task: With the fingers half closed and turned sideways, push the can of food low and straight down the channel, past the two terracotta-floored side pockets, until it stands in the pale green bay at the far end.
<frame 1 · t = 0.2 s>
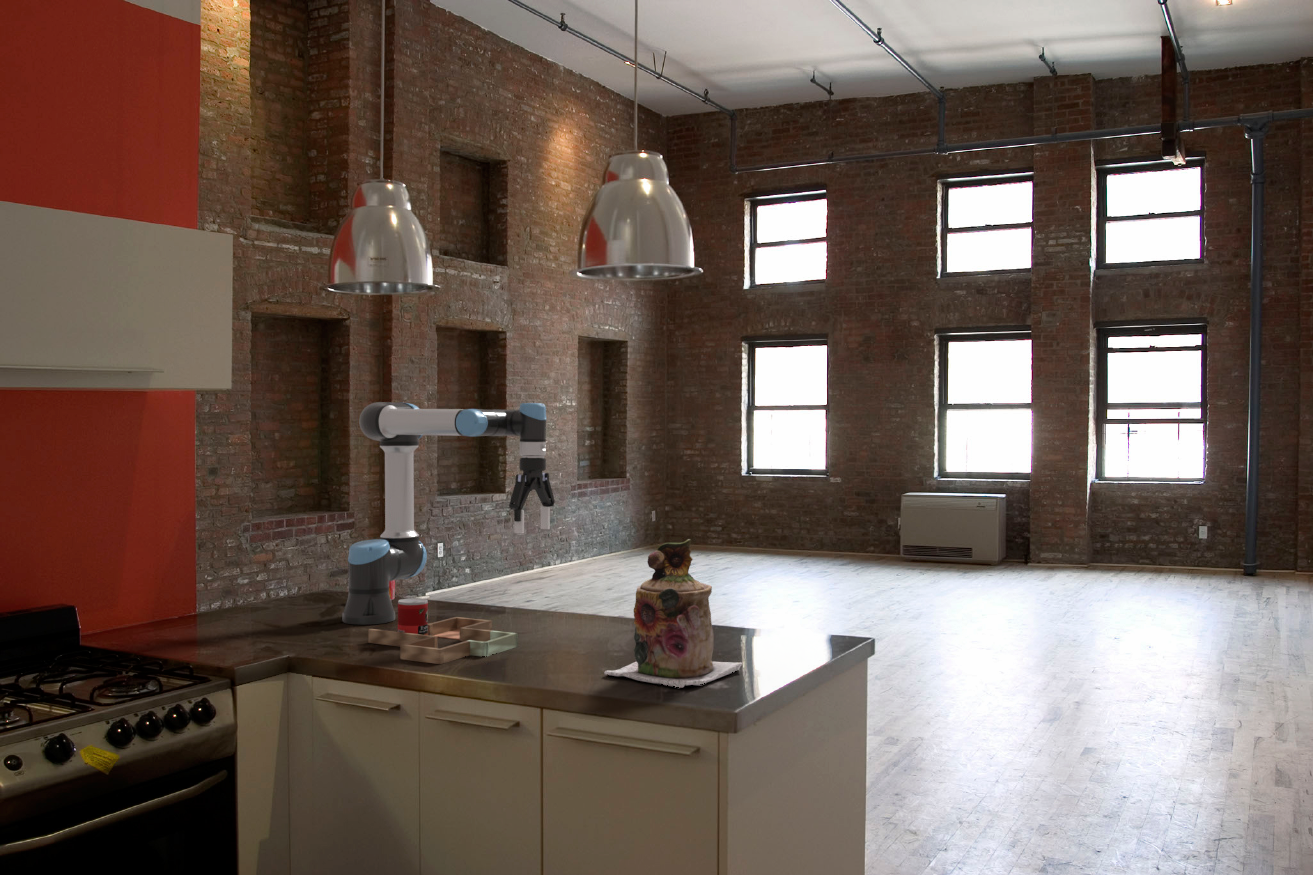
hand: (532, 531, 316), 28 cm above the worktop, tool pointing down, fingers open, 13 cm apart
cookie jar: (673, 675, 259), on the worktop
soda can: (383, 601, 363), on the worktop
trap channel: (439, 644, 293), on the worktop
canned food: (412, 641, 297), on the worktop
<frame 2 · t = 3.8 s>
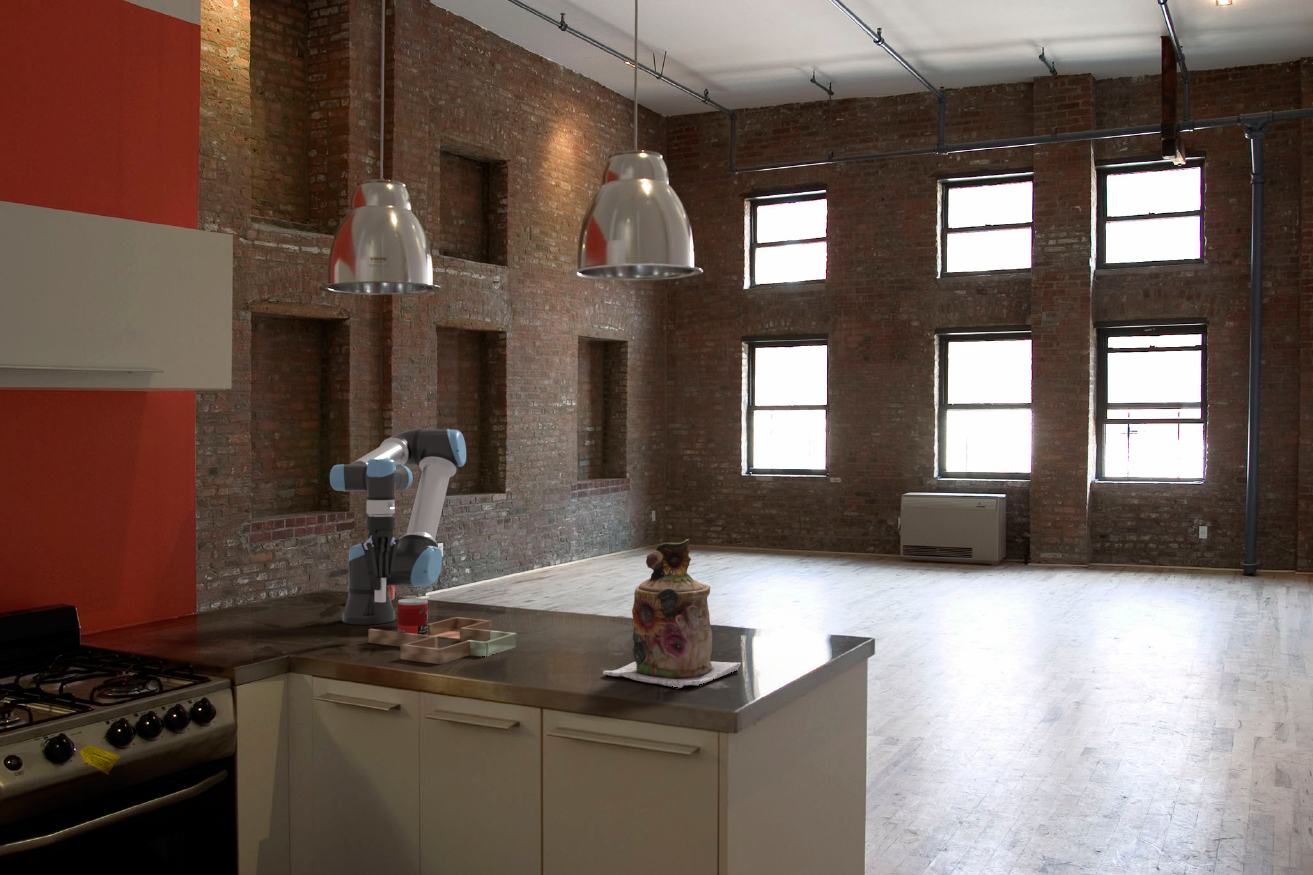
hand: (380, 601, 301), 10 cm above the worktop, tool pointing down, fingers closed
nothing on the worktop moved.
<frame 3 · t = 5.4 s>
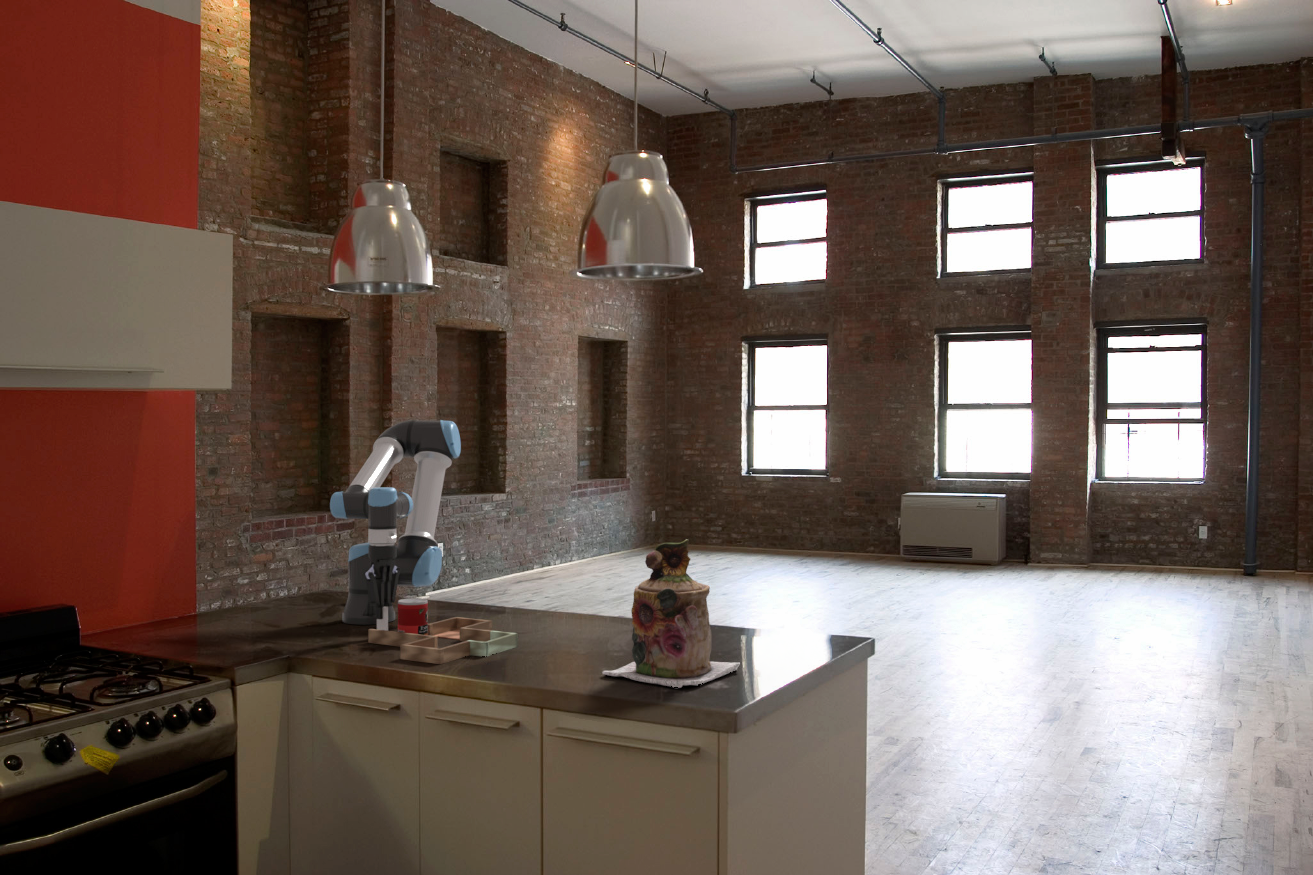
hand: (382, 630, 301), 2 cm above the worktop, tool pointing down, fingers closed
nothing on the worktop moved.
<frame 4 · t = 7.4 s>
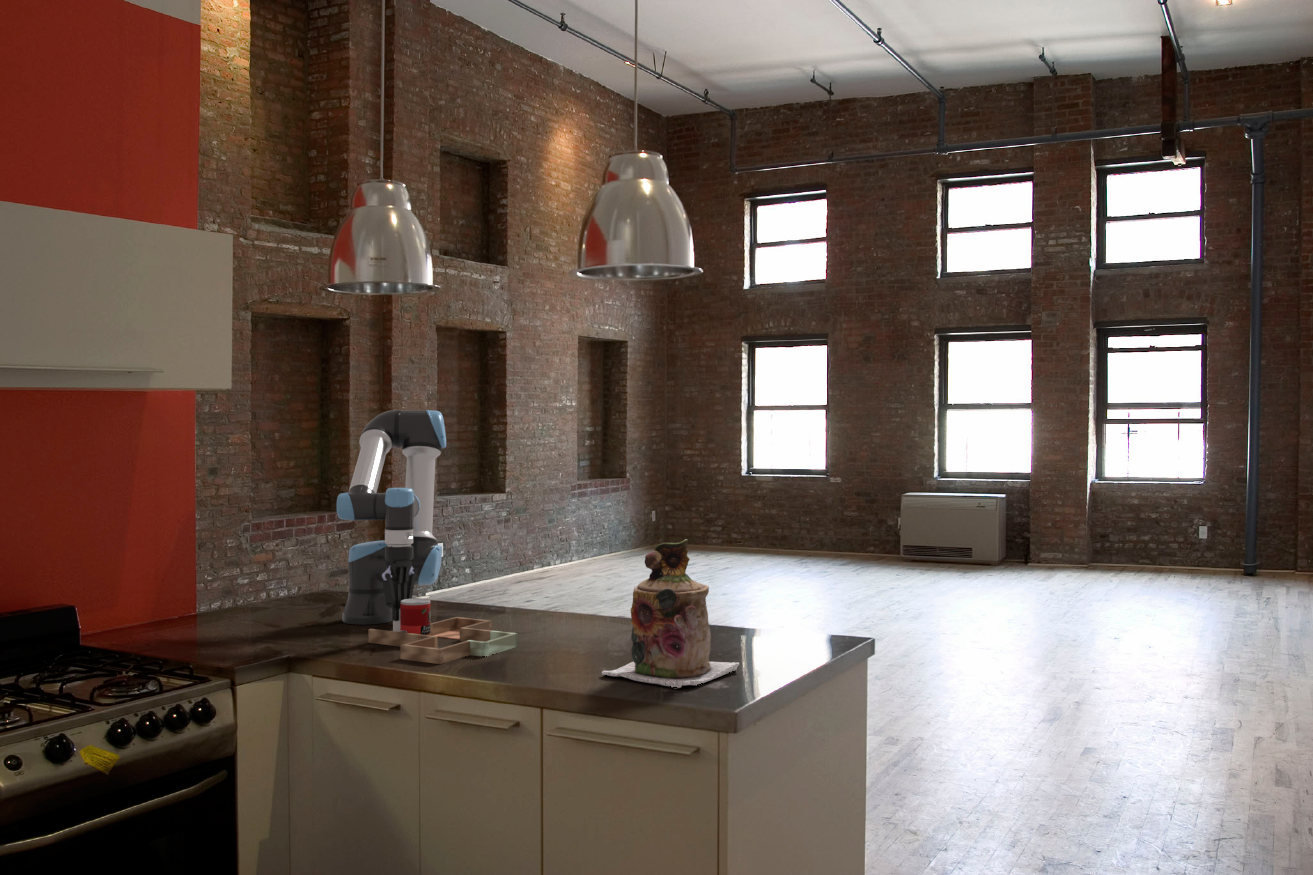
hand: (398, 632, 299), 2 cm above the worktop, tool pointing down, fingers closed
canned food: (415, 642, 296), on the worktop, touching gripper
everything else where it was.
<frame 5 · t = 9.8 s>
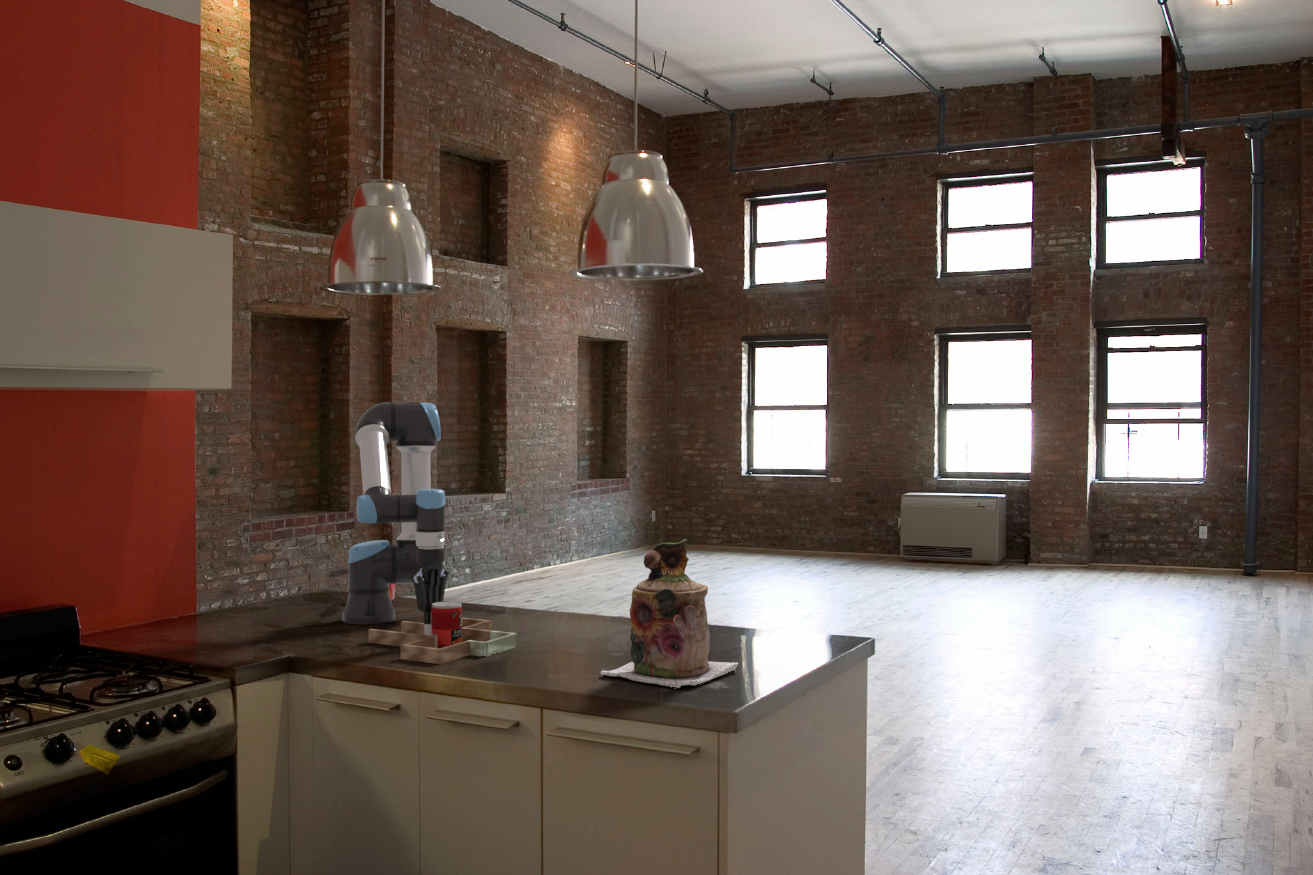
hand: (430, 635, 294), 2 cm above the worktop, tool pointing down, fingers closed
canned food: (446, 646, 291), on the worktop, touching gripper
everything else where it was.
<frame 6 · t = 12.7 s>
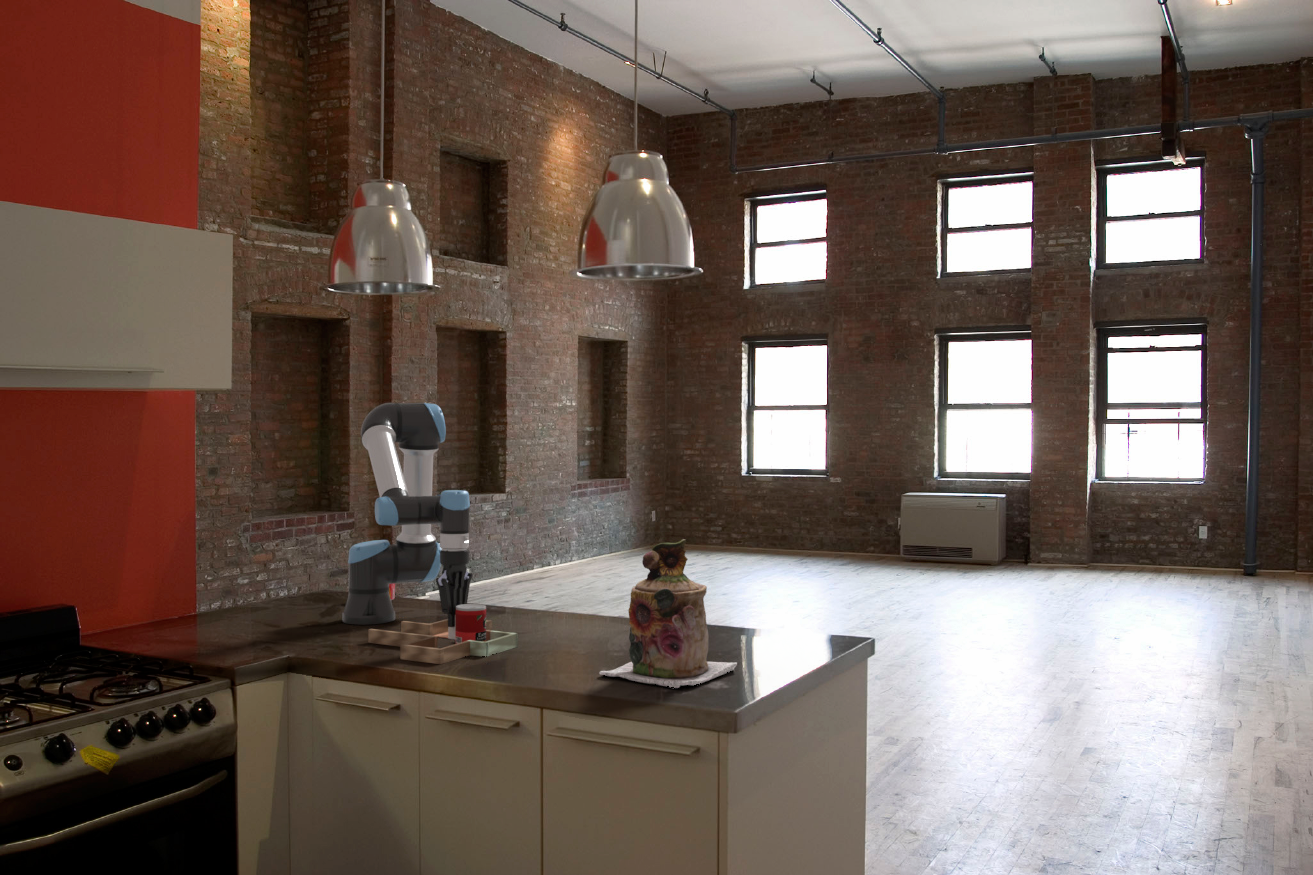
hand: (454, 638, 290), 2 cm above the worktop, tool pointing down, fingers closed
canned food: (470, 648, 288), on the worktop, touching gripper
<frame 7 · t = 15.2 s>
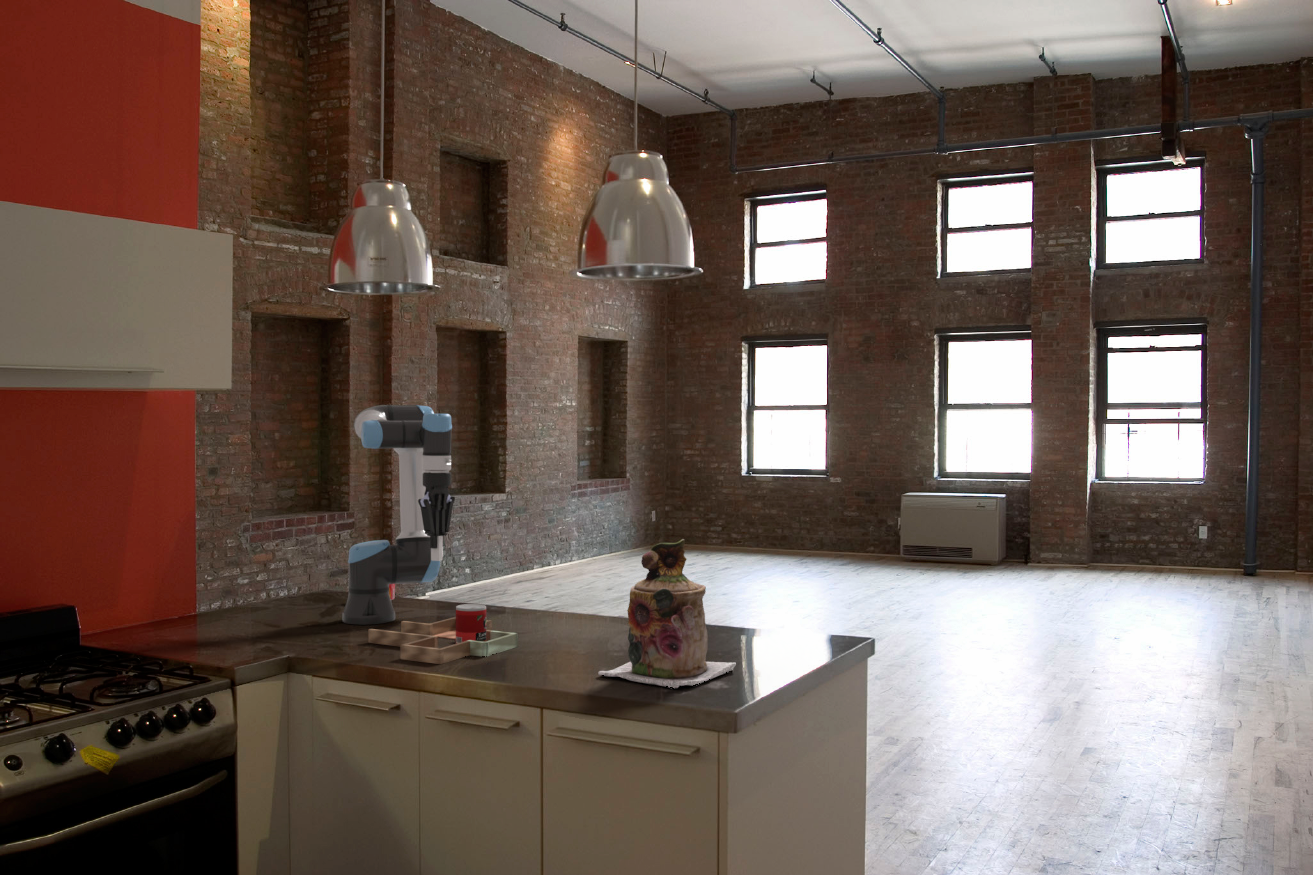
hand: (436, 560, 293), 22 cm above the worktop, tool pointing down, fingers closed
canned food: (471, 649, 288), on the worktop
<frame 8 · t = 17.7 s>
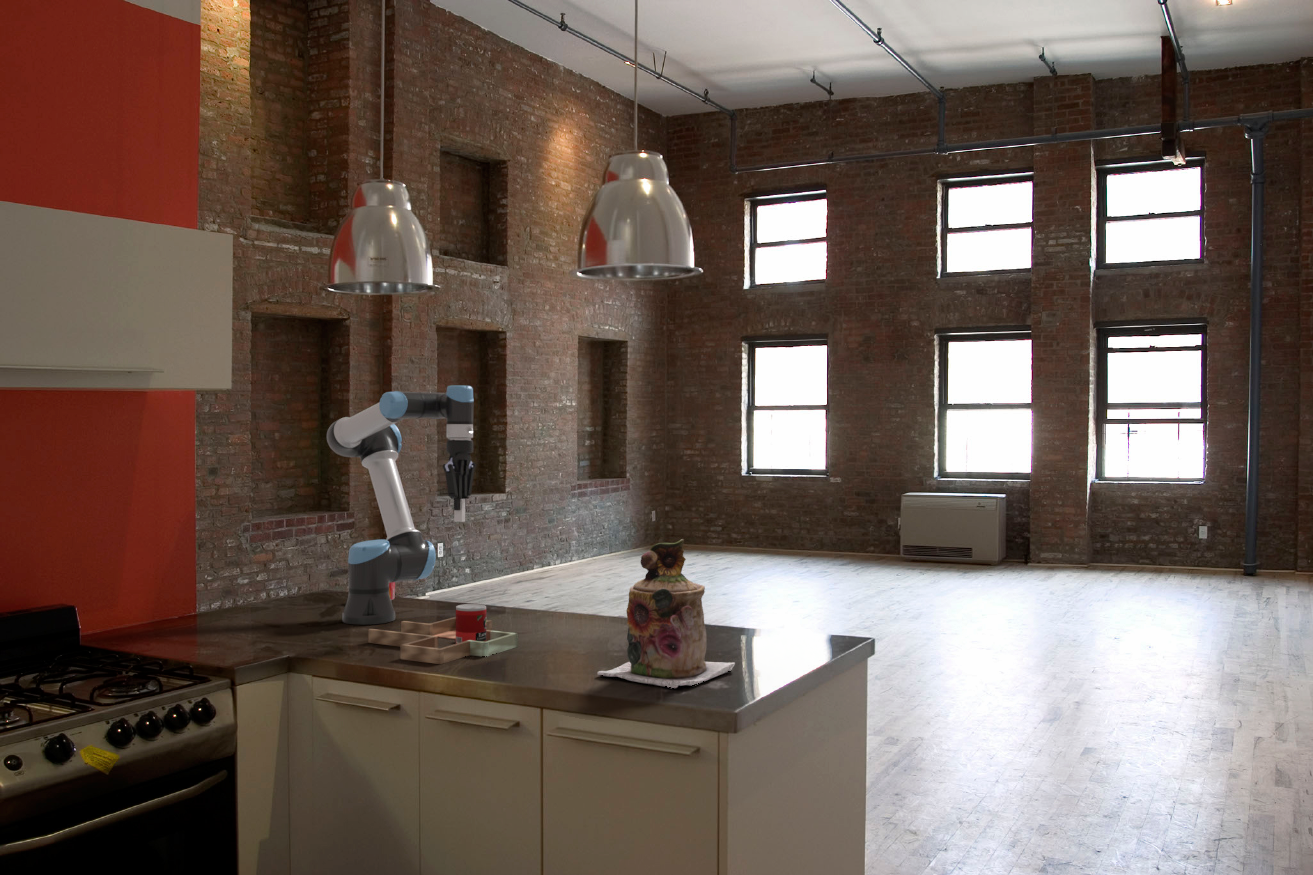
hand: (459, 521, 316), 30 cm above the worktop, tool pointing down, fingers closed
at the end: canned food inside the target area on the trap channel (4.2 cm from its centre), point 0.0 cm above the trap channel's base; canned food tilted 0° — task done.
